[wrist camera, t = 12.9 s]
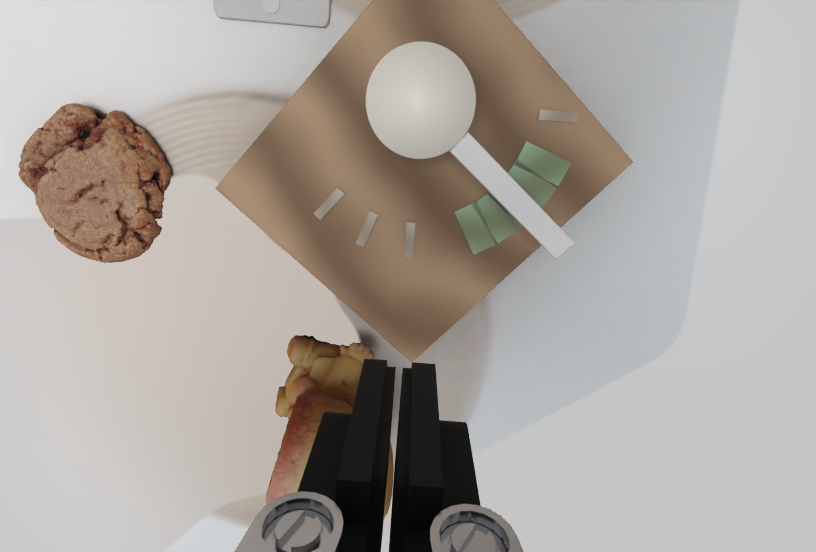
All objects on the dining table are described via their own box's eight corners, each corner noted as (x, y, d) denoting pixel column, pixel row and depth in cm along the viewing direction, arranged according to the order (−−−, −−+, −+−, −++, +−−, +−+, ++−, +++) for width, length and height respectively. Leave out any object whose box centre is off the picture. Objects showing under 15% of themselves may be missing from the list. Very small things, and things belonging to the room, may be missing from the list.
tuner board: (431, -58, 28) (432, -73, 26) (620, 159, 31) (634, 162, 29) (227, 184, 32) (214, 188, 30) (411, 350, 36) (411, 363, 34)
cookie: (77, 269, 35) (47, 282, 32) (11, 124, 32) (-29, 124, 29) (202, 241, 34) (182, 252, 31) (146, 90, 31) (119, 86, 28)
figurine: (288, 311, 35) (280, 447, 22) (383, 324, 37) (431, 455, 24) (267, 420, 38) (249, 599, 25) (356, 426, 40) (385, 594, 27)
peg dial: (350, 106, 28) (343, 103, 25) (419, 26, 27) (419, 14, 24) (517, 270, 31) (527, 285, 28) (587, 206, 30) (605, 214, 27)
